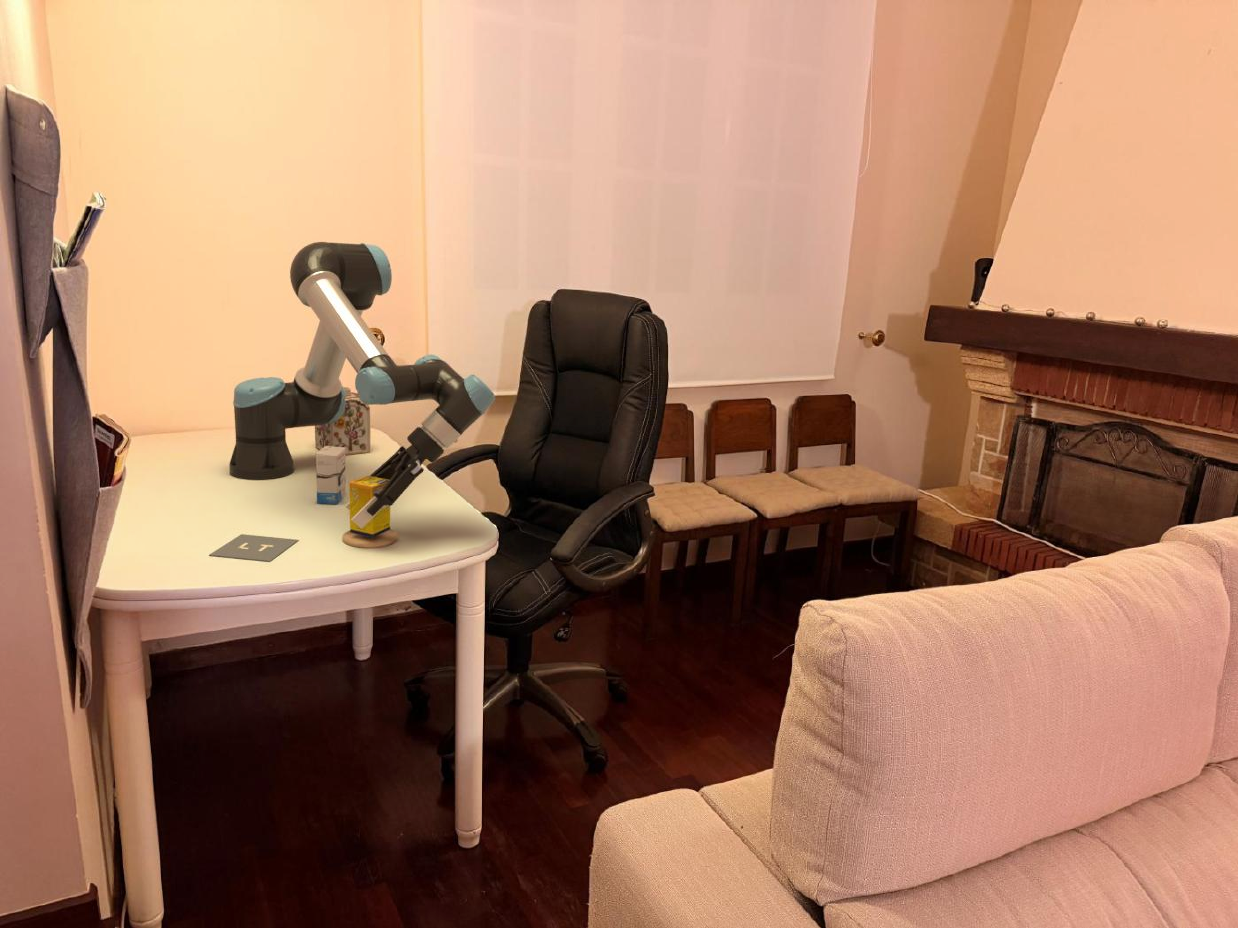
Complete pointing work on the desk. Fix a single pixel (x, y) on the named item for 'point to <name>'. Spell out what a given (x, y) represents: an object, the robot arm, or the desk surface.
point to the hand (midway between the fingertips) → (353, 516)
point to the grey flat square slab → (254, 548)
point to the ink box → (330, 475)
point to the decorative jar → (347, 427)
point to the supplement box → (360, 496)
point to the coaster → (370, 539)
